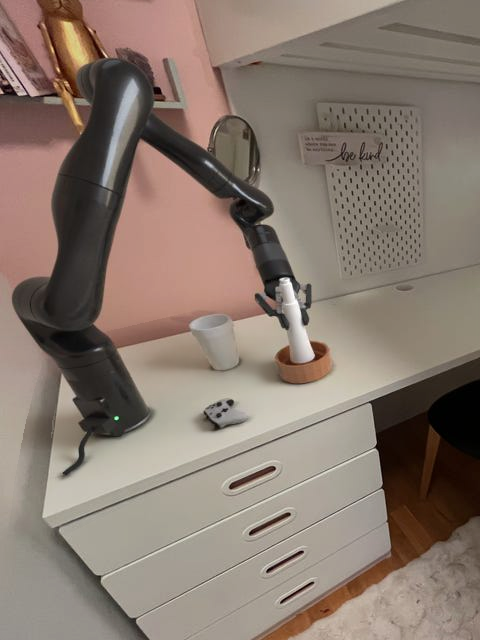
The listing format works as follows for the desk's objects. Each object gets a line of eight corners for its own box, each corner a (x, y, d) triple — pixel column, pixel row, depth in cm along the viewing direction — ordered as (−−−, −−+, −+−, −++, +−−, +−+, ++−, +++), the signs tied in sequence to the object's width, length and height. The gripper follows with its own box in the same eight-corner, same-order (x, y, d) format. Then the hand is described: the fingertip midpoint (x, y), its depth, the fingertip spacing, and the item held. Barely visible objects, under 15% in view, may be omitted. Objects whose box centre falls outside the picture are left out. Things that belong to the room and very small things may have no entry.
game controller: (251, 416, 90) (225, 410, 85) (238, 437, 90) (211, 432, 85) (234, 398, 96) (208, 391, 91) (222, 417, 95) (195, 412, 90)
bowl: (319, 386, 102) (315, 368, 99) (270, 382, 103) (264, 364, 100) (339, 359, 113) (336, 342, 110) (295, 356, 114) (290, 339, 111)
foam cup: (249, 365, 109) (235, 323, 103) (211, 377, 104) (193, 333, 97) (239, 351, 115) (225, 310, 108) (202, 362, 110) (185, 320, 103)
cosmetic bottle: (288, 355, 107) (268, 277, 95) (312, 350, 110) (295, 273, 98) (293, 366, 102) (272, 285, 91) (317, 360, 105) (300, 281, 94)
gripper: (241, 263, 94) (266, 328, 92) (303, 253, 102) (327, 314, 100) (243, 277, 101) (266, 339, 99) (301, 267, 108) (324, 325, 106)
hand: (297, 326), depth 99 cm, fingers closed on cosmetic bottle, 4 cm apart
